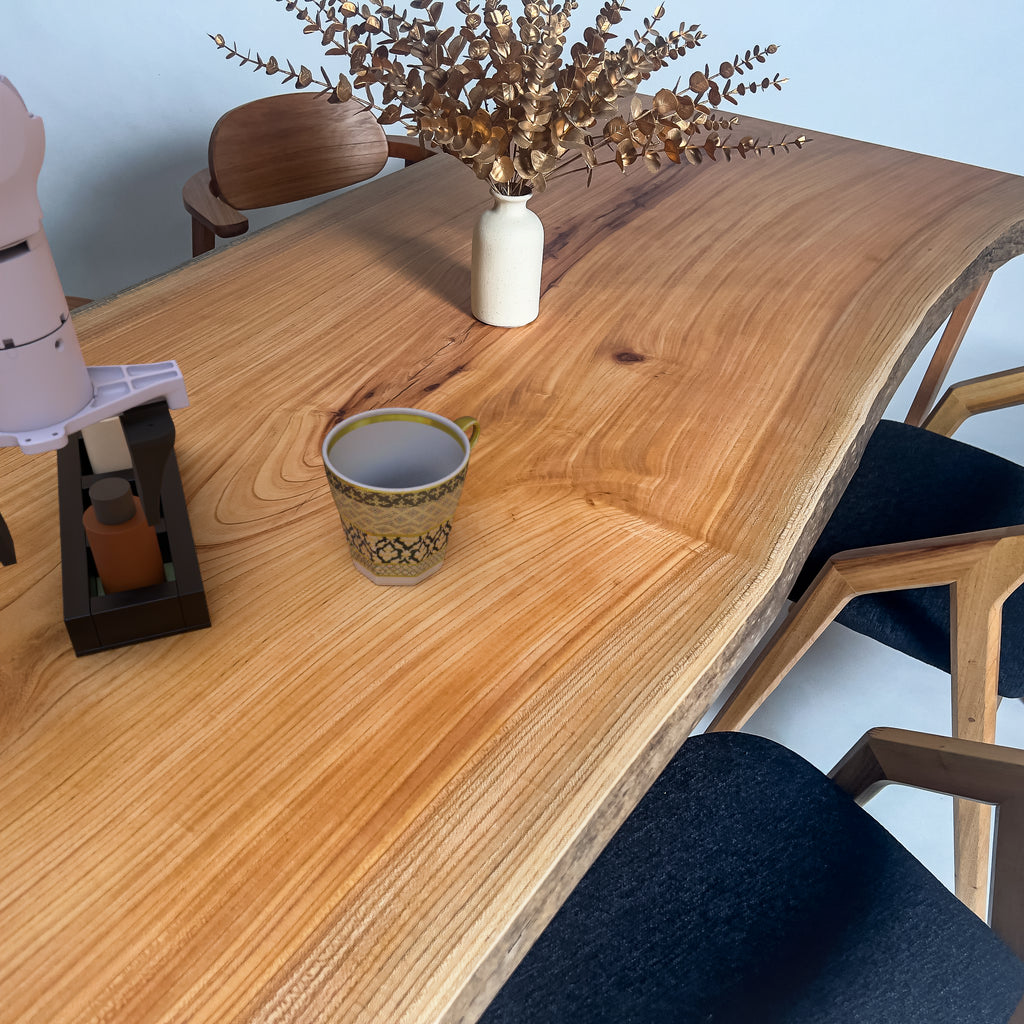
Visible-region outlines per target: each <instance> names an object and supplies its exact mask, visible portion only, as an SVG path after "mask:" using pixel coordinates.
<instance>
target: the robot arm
mask: <svg viewBox="0 0 1024 1024" xmlns="http://www.w3.org/2000/svg"><path fill="white" fill-rule="evenodd" d="M45 155H46V131H45V125H44V121H43V117H42V116H40V115H34V113H32V112H30V111H29V110H28V108H27V105H26V103H25V100H24V99H23V97H22V96H21V93H19V91H18V89H17V88H16V86H14V84H13V83H12V82H11V80H10V79H9V78H8V77H7V76H6V75H4V74H0V448H18V447H19V448H20V451H21V452H22V454H23V455H26V456H36V455H39V454H44V453H48V452H52V451H57V449H60V448H63V447H65V446H66V445H67V444H68V438H67V436H68V435H70V434H73V433H75V432H77V431H80V430H82V429H84V428H86V427H89V426H91V425H93V424H96V423H98V422H100V421H103V420H105V419H108V418H112V417H117V416H118V417H119V420H120V423H121V426H122V430H123V433H124V436H125V440H126V443H127V446H128V449H129V453H130V457H131V461H132V466H133V472H134V477H135V482H136V487H137V492H138V495H139V499H140V502H141V505H142V508H143V511H144V514H145V517H146V520H147V523H148V526H149V527H151V526H155V525H158V524H160V523H161V520H160V511H159V503H160V491H161V484H162V478H163V474H164V470H165V467H166V463H167V461H168V458H169V455H170V453H171V451H172V449H173V447H174V448H175V443H176V437H177V436H176V435H177V431H176V426H175V422H174V420H173V418H172V415H171V413H170V410H171V411H177V410H181V409H185V408H186V409H187V408H189V407H191V404H190V399H189V396H188V395H189V394H188V391H187V386H186V381H185V377H184V375H183V372H182V371H181V369H180V366H179V364H178V362H177V360H176V359H171V360H170V359H169V360H164V361H159V362H151V363H138V364H137V363H136V364H114V365H112V364H111V365H89V366H88V365H86V362H85V361H86V360H85V359H84V355H83V351H82V349H81V344H80V341H79V338H78V336H77V332H76V329H75V325H74V322H73V319H72V316H71V312H70V309H69V306H68V302H67V298H66V296H65V293H64V289H63V286H62V283H61V280H60V279H61V278H60V277H59V273H58V270H57V267H56V263H55V260H54V257H53V254H52V253H53V252H52V250H51V248H50V247H51V246H50V244H49V241H48V238H47V235H46V232H45V227H44V224H43V221H42V219H44V213H43V211H42V207H41V203H40V200H39V197H38V196H39V195H38V180H39V176H40V172H41V171H42V168H43V163H44V159H45ZM0 564H1V565H2V566H3V567H9V566H13V565H16V564H18V560H17V555H16V549H15V543H14V539H13V536H12V534H11V531H10V529H9V527H8V524H7V522H6V520H5V518H4V516H3V515H2V513H1V512H0Z"/></svg>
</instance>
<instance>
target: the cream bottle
mask: <svg viewBox="0 0 1024 1024" xmlns="http://www.w3.org/2000/svg"><path fill="white" fill-rule="evenodd" d="M81 432H82V436H83V439H84V443H85V446H86V450H87V453H88V457H89V460H90V464H91V468H92V471H93V475H94V474H100V473H106V472H112V471H118V470H124V469H130V468H133V466H132V461H131V457H130V453H129V449H128V446H127V443H126V440H125V436H124V433H123V430H122V426H121V423H120V420H119V417H118V416H117V417H112V418H108V419H105V420H103V421H100V422H98V423H96V424H93V425H91V426H89V427H86V428H84V429H82V430H81Z"/></svg>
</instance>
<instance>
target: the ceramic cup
mask: <svg viewBox="0 0 1024 1024" xmlns="http://www.w3.org/2000/svg"><path fill="white" fill-rule="evenodd" d="M470 427H472V433H471V435H470V437H468V435H467V434H466V433H465V432H466V431H467V430H468V429H469V428H470ZM480 436H481V425H480V422H479V420H477V418H475V417H473V416H471V415H463V416H460V417H458V418H456V419H455V420H453V421H452V420H451V419H449V418H447V417H445V416H442V415H440V414H438V413H434V412H432V411H431V412H430V411H428V410H425V409H419V408H414V407H395V406H394V407H382V408H375V409H371V410H370V409H369V410H365V411H362V412H359V413H356V414H353V415H351V416H349V417H347V418H345V419H343V420H341V421H340V422H338V423H337V424H336V425H335V426H333V427H332V428H331V429H330V430H329V431H328V432H327V434H326V435H325V437H324V439H323V441H322V444H321V451H320V452H321V458H322V463H323V467H324V473H325V476H326V480H327V484H328V487H329V489H330V493H331V496H332V499H333V501H334V505H335V507H336V509H337V511H338V515H339V519H340V523H341V526H342V529H343V533H344V536H345V540H346V543H347V546H348V550H349V553H350V556H351V559H352V563H353V565H354V567H355V569H356V570H357V571H358V572H359V573H361V574H362V575H363V576H364V577H366V578H367V579H369V580H370V581H371V582H372V583H374V584H375V585H377V586H407V587H411V586H412V587H413V586H417V585H418V584H419V583H420V582H422V581H424V580H426V579H427V578H429V577H430V576H431V575H433V574H435V573H436V572H438V571H440V570H441V568H442V567H443V565H444V561H445V558H446V553H447V547H448V544H449V541H450V540H449V539H450V536H451V532H452V528H453V525H454V524H453V523H454V518H455V514H456V511H457V508H458V506H459V502H460V500H461V497H462V493H463V490H464V486H465V481H466V478H467V474H468V469H469V464H470V459H471V453H472V451H473V449H474V448H475V446H476V444H477V443H478V441H479V438H480Z"/></svg>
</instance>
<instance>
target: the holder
mask: <svg viewBox="0 0 1024 1024" xmlns="http://www.w3.org/2000/svg"><path fill="white" fill-rule="evenodd" d="M67 438H68V444H67V445H66V446H65V447H63V448H60V449H57V450H56V467H57V468H56V469H57V470H56V471H57V492H58V493H57V494H58V517H59V543H60V544H59V545H60V546H59V547H60V565H61V567H60V569H61V591H62V614H63V617H62V618H63V623H64V626H65V629H66V631H67V635H68V637H69V640H70V643H71V646H72V648H73V652H74V654H75V657H76V658H81V657H82V658H83V657H86V656H90V655H94V654H95V655H96V654H98V653H104V652H107V651H112V650H116V649H120V648H125V647H129V646H133V645H138V644H142V643H147V642H152V641H155V640H161V639H164V638H169V637H173V636H177V635H182V634H186V633H190V632H191V633H192V632H194V631H199V630H204V629H208V628H212V627H213V625H212V621H211V616H210V612H209V605H208V602H207V597H206V592H205V588H204V583H203V578H202V572H201V568H200V563H199V558H198V554H197V548H196V544H195V540H194V535H193V529H192V524H191V520H190V516H189V509H188V506H187V501H186V497H185V491H184V487H183V482H182V478H181V474H180V473H181V472H180V467H179V464H178V458H177V454H176V449H175V446H174V447H173V449H172V451H171V453H170V455H169V458H168V461H167V463H166V467H165V470H164V474H163V478H162V484H161V491H160V503H159V511H160V520H161V523H160V524H158V525H155V526H154V528H155V532H156V536H157V540H158V544H159V548H160V552H161V556H162V561H163V565H164V569H165V573H166V577H167V581H168V582H164V583H159V584H154V585H150V586H145V587H140V588H135V589H131V590H126V591H121V592H116V593H111V594H107V595H105V593H104V589H103V586H102V583H101V580H100V576H99V573H98V570H97V567H96V563H95V560H94V557H93V553H92V550H91V547H90V544H89V540H88V537H87V534H86V531H85V527H84V524H83V515H84V513H85V511H86V510H87V509H88V508H89V507H90V506H91V505H92V502H91V499H90V495H89V490H90V488H91V486H92V485H93V484H95V483H96V482H98V481H100V480H103V479H106V478H122V479H125V480H126V481H128V482H129V484H130V487H131V491H132V495H133V496H137V497H139V495H138V492H137V487H136V482H135V477H134V472H133V468H130V469H124V470H118V471H112V472H106V473H100V474H94V475H93V471H92V468H91V464H90V460H89V457H88V453H87V450H86V446H85V443H84V439H83V436H82V432H81V430H80V431H77V432H75V433H73V434H70V435H68V436H67Z"/></svg>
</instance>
